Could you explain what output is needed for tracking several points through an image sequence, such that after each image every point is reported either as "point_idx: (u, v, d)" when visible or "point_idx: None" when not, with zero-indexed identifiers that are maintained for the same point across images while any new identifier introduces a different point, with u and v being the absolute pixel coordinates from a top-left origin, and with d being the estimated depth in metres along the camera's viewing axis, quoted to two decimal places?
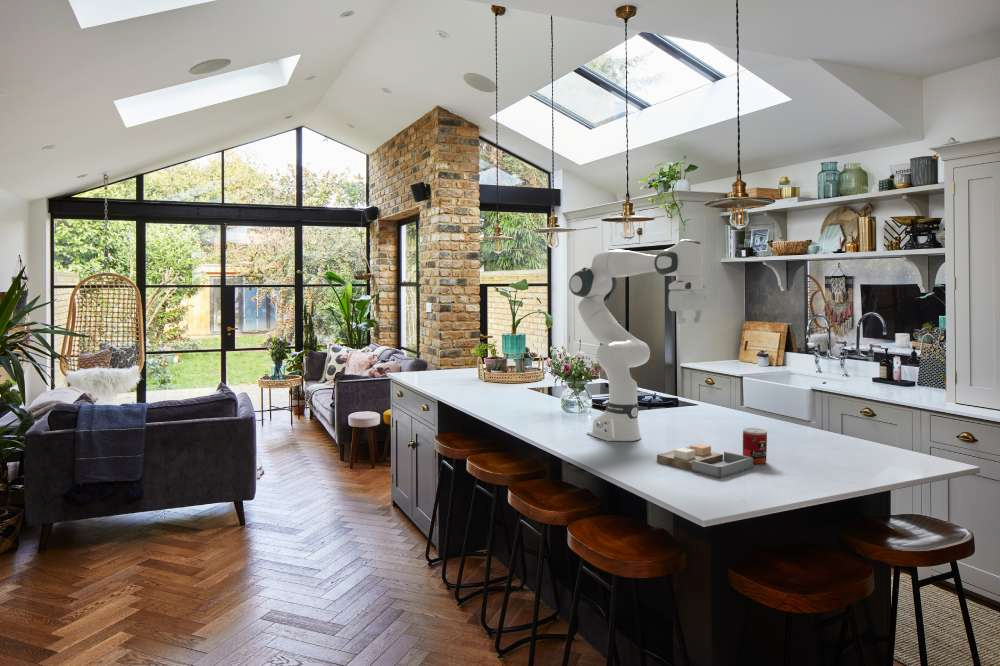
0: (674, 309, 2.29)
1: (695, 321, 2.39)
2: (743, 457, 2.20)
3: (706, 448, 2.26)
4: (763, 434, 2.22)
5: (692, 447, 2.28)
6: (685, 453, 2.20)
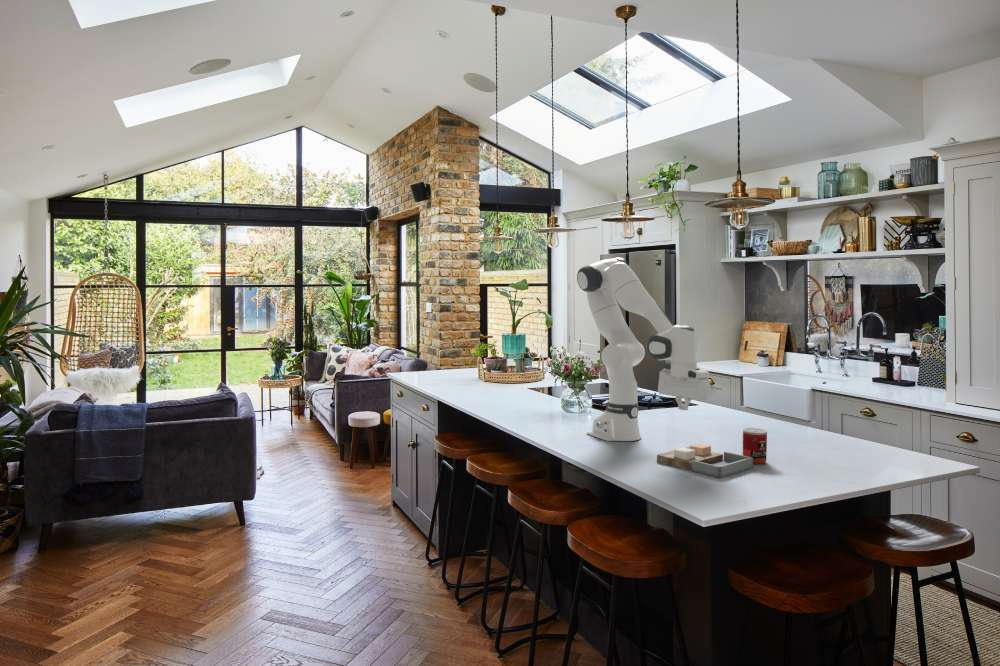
0: (708, 398, 2.26)
1: None
2: (743, 457, 2.20)
3: (706, 448, 2.26)
4: (763, 434, 2.22)
5: (692, 447, 2.28)
6: (685, 453, 2.20)
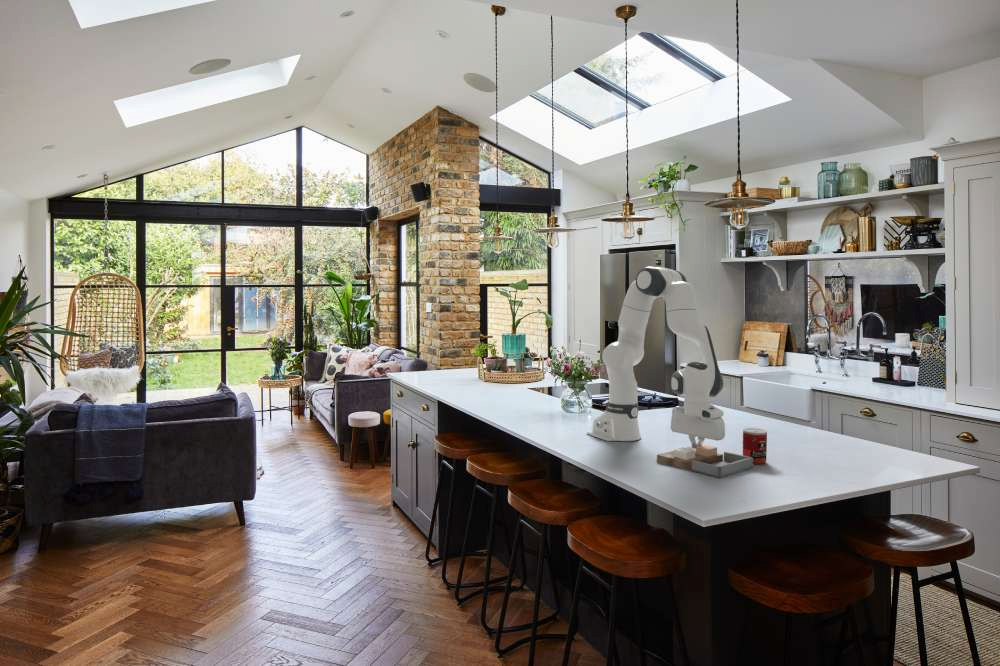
0: (722, 438, 2.22)
1: None
2: (743, 457, 2.20)
3: (712, 449, 2.24)
4: (763, 434, 2.22)
5: (698, 448, 2.26)
6: (685, 453, 2.20)
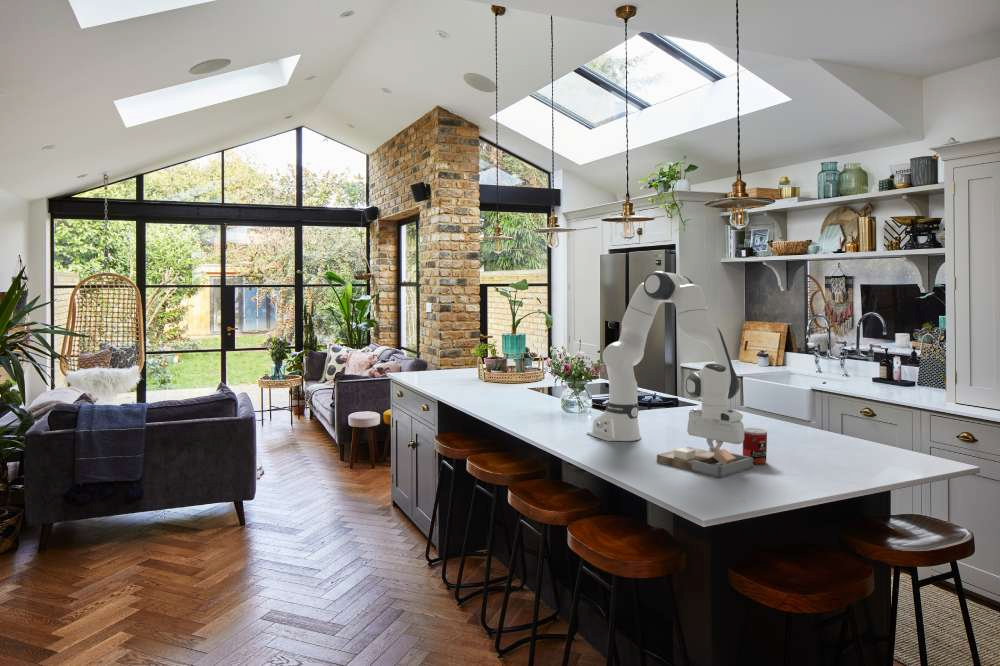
0: (741, 442, 2.16)
1: None
2: (743, 457, 2.20)
3: (731, 460, 2.19)
4: (763, 434, 2.22)
5: (717, 453, 2.20)
6: (685, 453, 2.20)
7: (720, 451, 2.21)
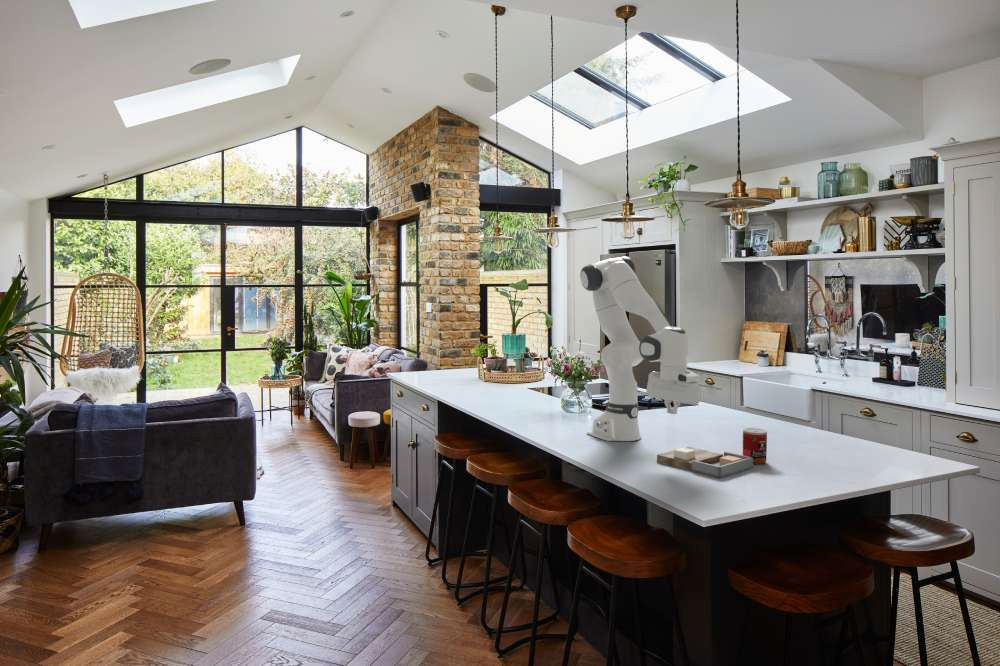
0: (698, 402, 2.20)
1: None
2: (743, 457, 2.20)
3: (737, 460, 2.17)
4: (763, 434, 2.22)
5: (722, 459, 2.19)
6: (685, 453, 2.20)
7: (724, 457, 2.20)
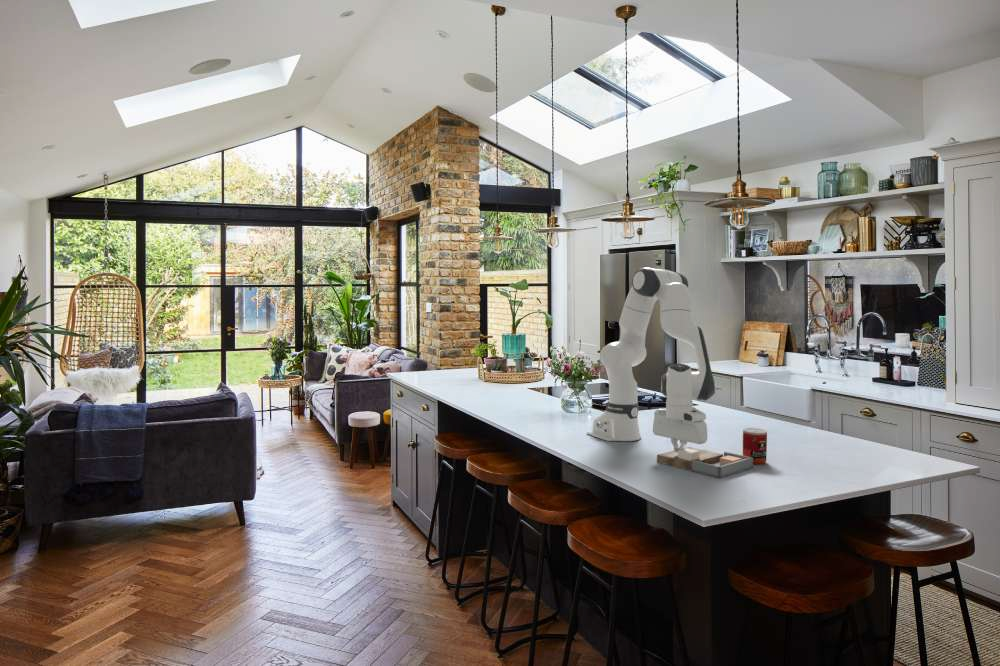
0: (704, 442, 2.17)
1: None
2: (743, 457, 2.20)
3: (737, 460, 2.17)
4: (763, 434, 2.22)
5: (722, 459, 2.19)
6: (689, 454, 2.18)
7: (724, 457, 2.20)
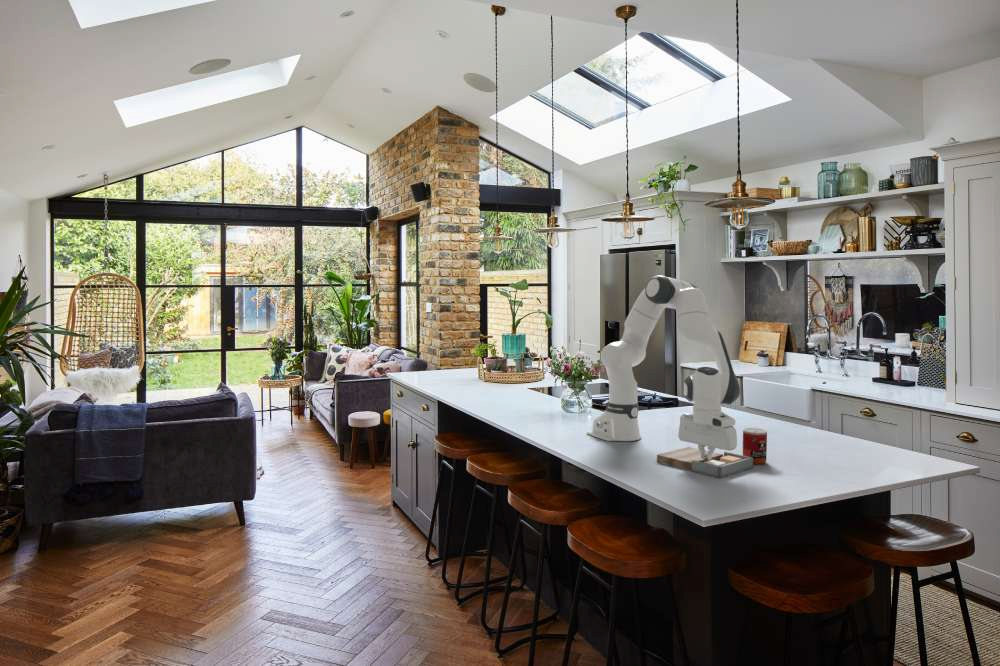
0: (734, 448, 2.08)
1: None
2: (743, 457, 2.20)
3: (737, 460, 2.17)
4: (763, 434, 2.22)
5: (722, 459, 2.19)
6: None
7: (724, 457, 2.20)
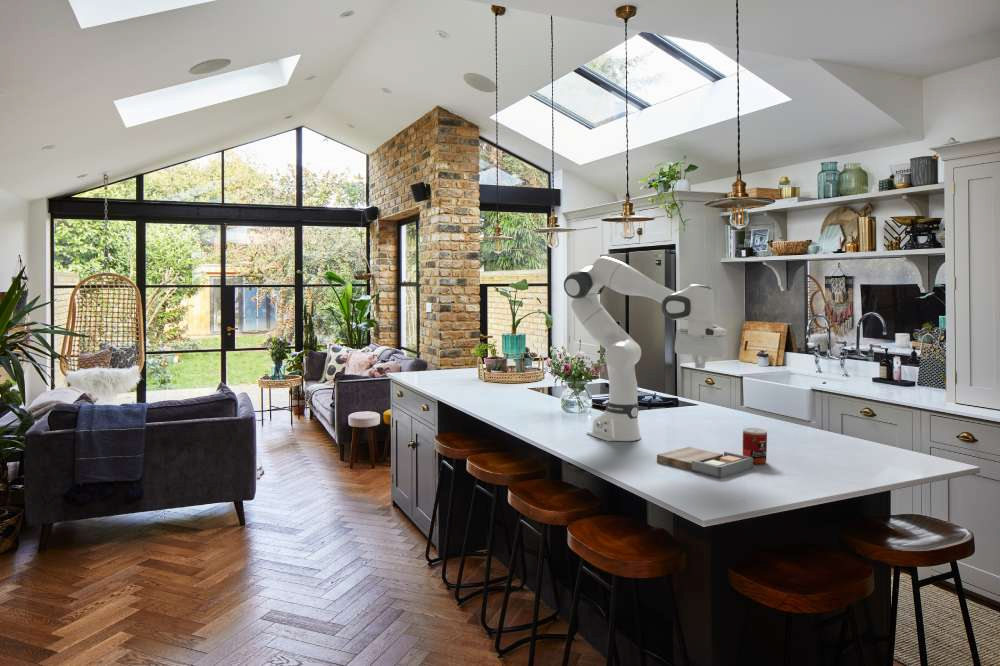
0: (725, 355, 2.28)
1: None
2: (743, 457, 2.20)
3: (737, 460, 2.17)
4: (763, 434, 2.22)
5: (722, 459, 2.19)
6: None
7: (724, 457, 2.20)
